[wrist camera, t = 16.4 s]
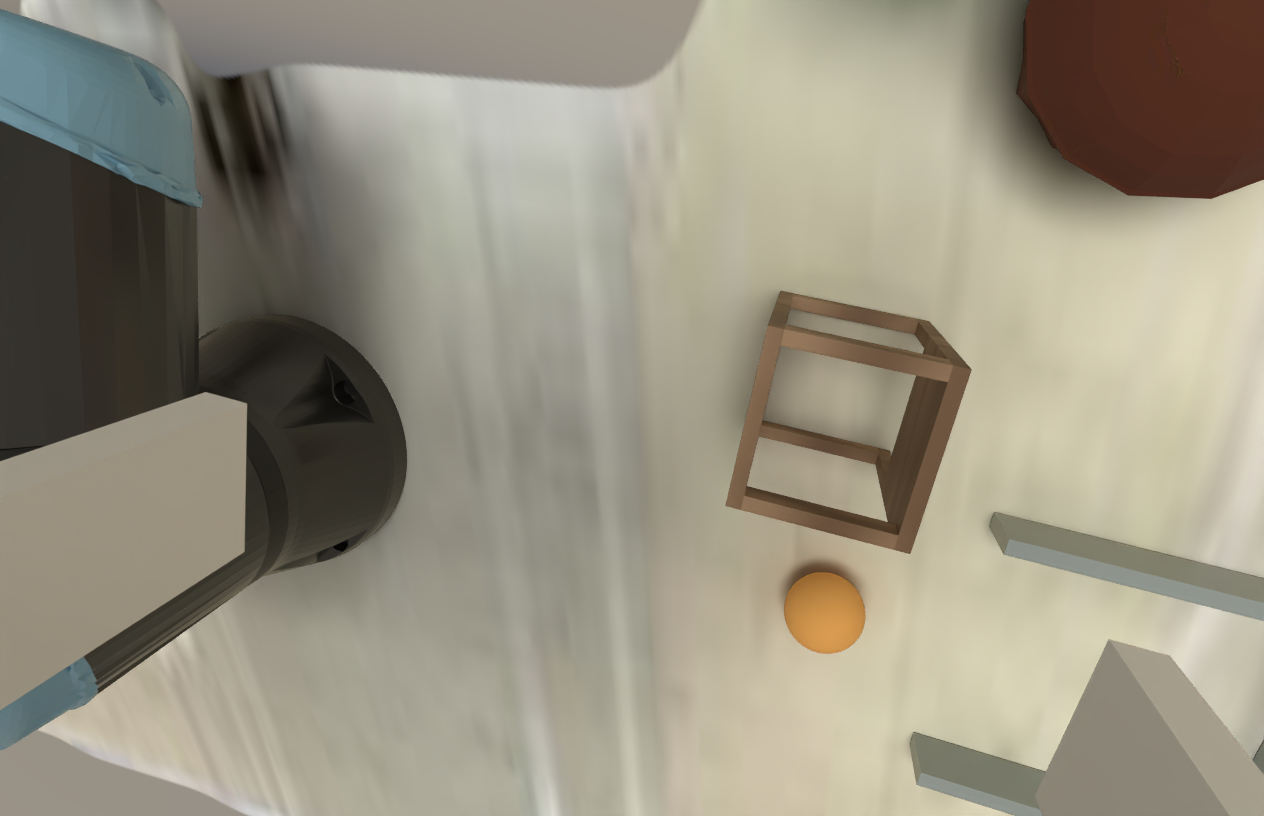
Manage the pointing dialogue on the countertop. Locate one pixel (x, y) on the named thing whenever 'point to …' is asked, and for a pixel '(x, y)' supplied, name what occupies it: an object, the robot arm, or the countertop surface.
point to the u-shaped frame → (1095, 558)
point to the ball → (824, 612)
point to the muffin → (1150, 91)
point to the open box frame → (899, 474)
